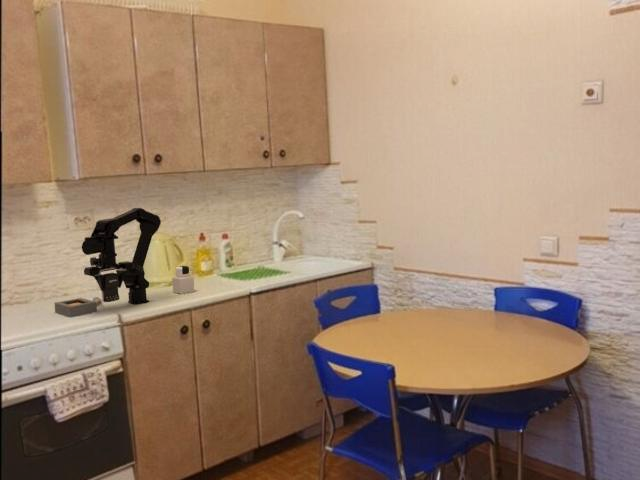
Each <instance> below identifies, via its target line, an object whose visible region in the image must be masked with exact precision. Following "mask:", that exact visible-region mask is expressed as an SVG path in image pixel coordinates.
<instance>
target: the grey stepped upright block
mask: <svg viewBox="0 0 640 480" xmlns="http://www.w3.org/2000/svg"><path fill="white" fill-rule="evenodd" d="M174 271H175V276H172V278H171V280H172V281H171V282H172V293H173V292H174V294H178V293H179V294H178V295H185V294H189V293H188V292H191V293H194V292H195V283H194V282H195V280H194V278H195V277H194V276H191V275H190V267H189V266H188V265H179V266H177V267H175V270H174ZM184 293H185V294H184Z"/></svg>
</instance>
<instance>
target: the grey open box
mask: <svg viewBox="0 0 640 480" xmlns="http://www.w3.org/2000/svg"><path fill="white" fill-rule="evenodd" d="M73 303H82V304H78V305H73V306H72V305H68V304H73ZM53 304H54V313H57V314H58V315H62V316H65V317H69V318H73V317H78V316H79V317H80V316H83V314H84V315H87V313H89V314H93V313H92V312H94V313H97V312H98V308H97V307H98V305H97V301H94V300H89V299H86V298H82V297H78V298H73V299H67V300H62V301H57V302H54V303H53Z"/></svg>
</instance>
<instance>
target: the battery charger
mask: <svg viewBox="0 0 640 480" xmlns="http://www.w3.org/2000/svg"><path fill="white" fill-rule="evenodd" d="M102 275H103V284H104V290H103V291H101V298H102V302H103V303H111V302H116V301H118V300H120V298H121V297H120V295H119V288H118V285H120V281H119V275H118V274H117V273H115V272H107V273H102Z"/></svg>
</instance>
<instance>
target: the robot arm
mask: <svg viewBox="0 0 640 480" xmlns="http://www.w3.org/2000/svg"><path fill="white" fill-rule="evenodd" d="M133 221H135V222H137V223H139V230H140V234H139V238H138V242H137V245H136V247H135V248H136V249H135V252H134V254H133V257H132V261H129V260H128V261H127V260H126V261H125V260H124V261H120V262H119V261H118V262H117V256H118V253H116V246H115V245H116V244H115V240H117V239H119V236H118V235H116V233H117V232H118V231H119V229H120V228H121V227H122V226H124V225H127V224H129V223H131V222H133ZM161 224H162V220H161V218H160V216H159V215H157V214H155V213H152V212H150V211H147V210H145V209H144V208H142V207H133V208H131V210H128V211H126V212H124V213H121V214H119V215H116V216H114V217H111V218H103V219H99V220H97V221H96V222H95V226H94V228H93V230H92V232H91V235H90V236H89V237H87V236H85V237H84V241H82V243H81V250H82V253H83V254H84V255H86V256H90V255H94V254H98V258H97V257H96V256H94V257H93V256H92V257H90V258H89V263H90V266H86V267H84V270H83V274H84V276H89V277H93V278H94V280H95V281H96V283H97V285H98V286H99V289H100V291H101V292H102V291H103V290H104V284H103V273H102V272H108V271H114V270H115V272H116V273H117V274H118V275H119V281H120V285H118V289H120V288H121V287H122V285H123V284H124V285H125V288H126V289H128V295H127V296H128V301H127V302H128V303H130V304H134V305H137V304H138V305H139V304H144V303H149V302H150V301H149V300H148V298H147V288H148V289H149V286H150V282H149V281H148V280H147V279H146V278H145V275H146V274H145V273H146V272H145V269H144V265H145V261H146V259H147V255H148V253H149V248H150V245H151V242H152V239H153V236H154V235H155V234H156V233H157V232H158V230H159V228H160V227H161Z"/></svg>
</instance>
